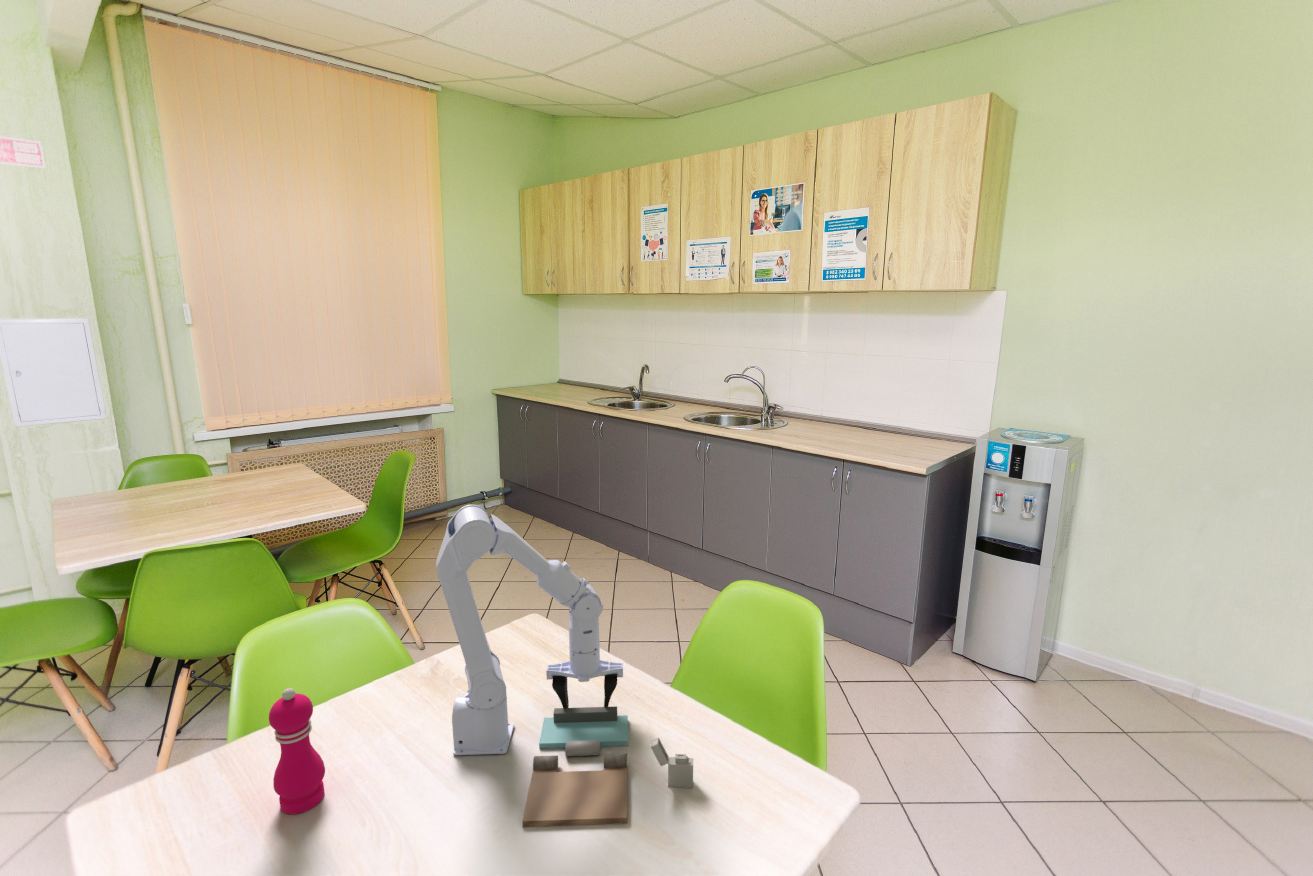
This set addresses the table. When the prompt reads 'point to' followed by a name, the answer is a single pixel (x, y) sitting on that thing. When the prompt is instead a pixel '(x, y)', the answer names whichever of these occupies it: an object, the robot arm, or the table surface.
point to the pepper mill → (296, 754)
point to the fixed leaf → (577, 794)
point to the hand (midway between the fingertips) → (586, 709)
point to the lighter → (674, 766)
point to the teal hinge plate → (584, 730)
